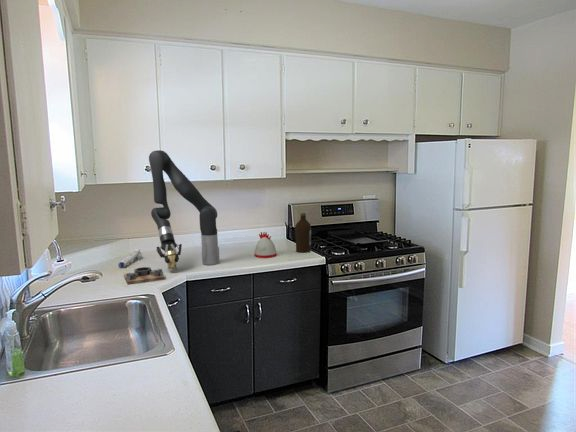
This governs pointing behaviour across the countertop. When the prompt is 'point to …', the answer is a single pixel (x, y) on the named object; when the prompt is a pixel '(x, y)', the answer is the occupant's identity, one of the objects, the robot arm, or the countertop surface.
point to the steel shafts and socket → (143, 273)
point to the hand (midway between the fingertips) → (172, 261)
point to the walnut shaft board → (144, 279)
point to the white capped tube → (130, 258)
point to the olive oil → (303, 235)
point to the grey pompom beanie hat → (265, 247)
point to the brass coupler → (171, 259)
